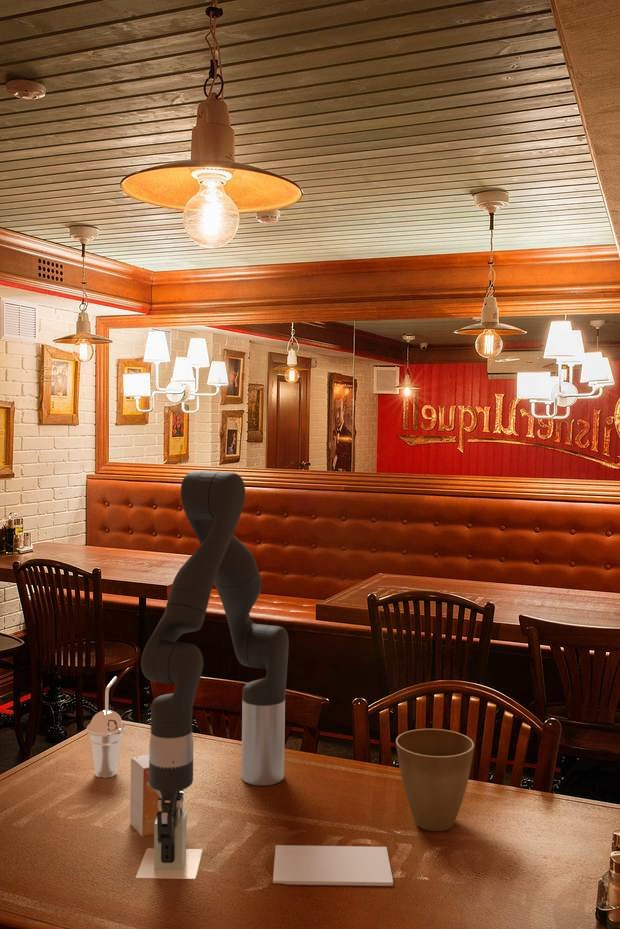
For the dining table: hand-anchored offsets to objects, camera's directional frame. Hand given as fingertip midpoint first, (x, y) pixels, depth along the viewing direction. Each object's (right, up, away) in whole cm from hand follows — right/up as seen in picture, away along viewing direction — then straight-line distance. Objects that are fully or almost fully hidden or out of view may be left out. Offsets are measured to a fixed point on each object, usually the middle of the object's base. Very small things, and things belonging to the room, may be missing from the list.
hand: (170, 853), depth 146 cm
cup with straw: (-20, 0, +38) cm, 43 cm away
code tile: (0, -2, 0) cm, 2 cm away
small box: (-5, -1, +14) cm, 15 cm away
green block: (0, -2, 0) cm, 2 cm away
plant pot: (+48, -2, +17) cm, 51 cm away
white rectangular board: (+28, -2, 0) cm, 28 cm away
